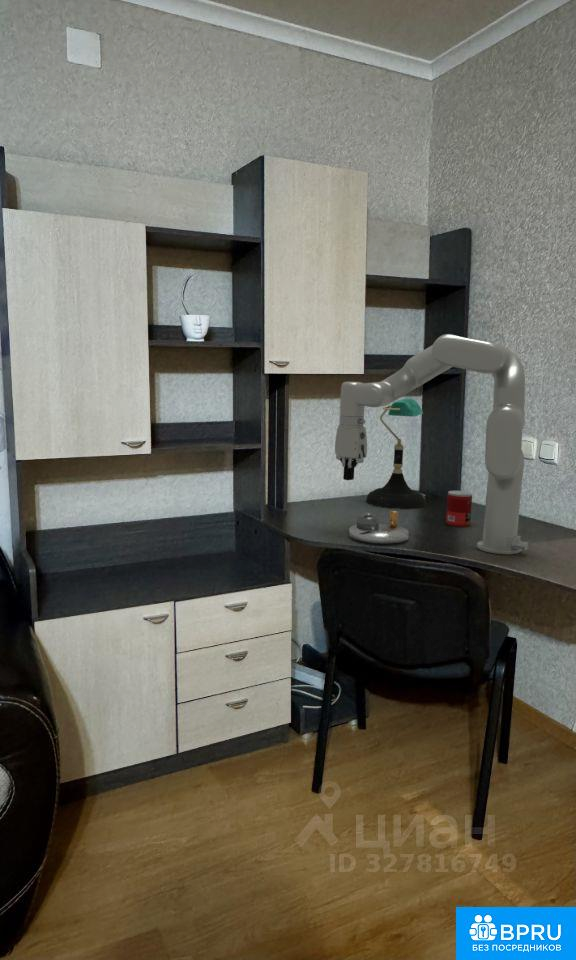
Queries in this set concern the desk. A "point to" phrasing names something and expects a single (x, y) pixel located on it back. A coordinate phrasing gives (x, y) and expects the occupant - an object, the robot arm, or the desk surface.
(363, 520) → the cover
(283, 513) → the desk surface
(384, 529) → the turntable
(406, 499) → the banker's lamp
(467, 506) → the canned food
